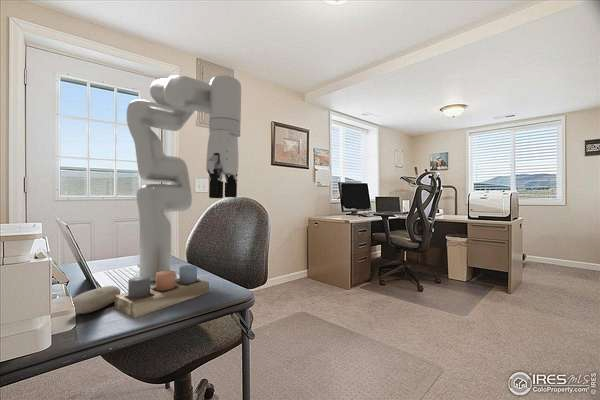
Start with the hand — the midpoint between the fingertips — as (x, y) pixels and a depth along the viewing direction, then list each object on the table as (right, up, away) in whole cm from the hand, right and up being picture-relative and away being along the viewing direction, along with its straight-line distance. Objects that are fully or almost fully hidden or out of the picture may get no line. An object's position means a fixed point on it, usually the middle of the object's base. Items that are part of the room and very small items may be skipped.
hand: (223, 197), depth 72 cm
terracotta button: (-17, -24, +6) cm, 30 cm away
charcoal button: (-21, -24, 0) cm, 32 cm away
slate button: (-14, -24, +12) cm, 30 cm away
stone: (-32, -28, -1) cm, 42 cm away
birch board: (-17, -28, +6) cm, 33 cm away
